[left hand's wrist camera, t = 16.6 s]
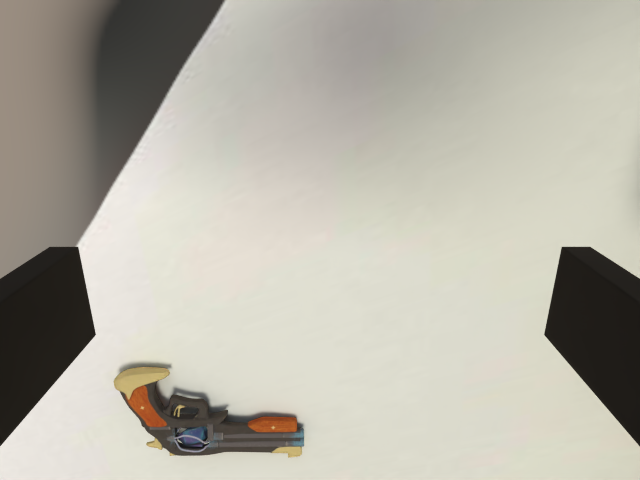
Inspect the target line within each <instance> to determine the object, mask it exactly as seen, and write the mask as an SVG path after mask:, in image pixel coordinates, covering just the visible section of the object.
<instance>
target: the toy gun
mask: <svg viewBox="0 0 640 480" xmlns="http://www.w3.org/2000/svg"><path fill="white" fill-rule="evenodd" d="M169 374H170V372H169V370H167V369H165V368H156V367H137V368H131V369H127V370H125V371H123V372H121V373H120V374H119V375H118V376H117V377H116V378H115V380H114V386H115V388H116V389H117V390H119V391H120V393H121V395H122V397H123V398H124V400H125V402H126V403H127V405H128V406H129V408H130V409H131V410H132V411H133V412H134V414H135V415H136V416H137V417H138V418H139V419H140V421H141V424H142V426H143V427H145V429H146V431H147V432H148V433H150V434H151V435H152V436H154V437H155V441H151V442H147V444H146V445H147V446H149V447H154V448H158V449H160V450H162V448H165V449H167V450H168V451H169V452H170V456H172V455H181V456H188V455H210V454H217V453H222V452H271V453H288V458H289V457H295V456H300V455H301V454H302V447H301V446H304V430H303V429H301V427H297V419H296V418H294V417H260V418H257V419H254V420H252V421H249V422H247V423H235V422H227V421H223V420H224V419H225V418H226V417H227V413H228V410H224V411H221V412H217V413H209V412H208V404H207V402H206V401H205V400H204V399H192V398H186V397H182V396H179V395H175V394H173V395H172V396H171V398H170V403H169V406H167V407H165V406H163V404H162V403H161V401H160V400H159V398H158V396H157V394H156V390H155V389H156V382H157V381H158V380H161V379H163V378H165V377H167V376H168V375H169ZM174 404H179V405H178V406H177V407H176V409H175V411H174V412H173V411H172V406H173V405H174ZM185 406H188V407H197V408H198V409H199V411H198V412H197V413H196V414H180V409H181V408H184V407H185ZM177 409H178V413H176V410H177ZM206 426H208V429H207V427H206ZM184 427H189V428H188V429H186V430H185V431H183V432H182V433H180V434H179V432H178V431H179V430H180V429H181V428H184ZM177 428H179V429H178V430H177ZM177 434H178V435H177ZM177 439H179V440H180V441H181V442H182V443H180V442H178V441H177ZM207 439H208V441H206V440H207ZM207 442H209V443H207ZM204 443H207V444H204Z"/></svg>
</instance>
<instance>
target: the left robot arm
mask: <svg viewBox="0 0 640 480" xmlns="http://www.w3.org/2000/svg"><path fill="white" fill-rule="evenodd" d="M95 335H96V334H95V329H94V324H93V319H92V314H91V309H90V304H89V299H88V294H87V289H86V284H85V279H84V274H83V269H82V264H81V259H80V254H79V249H78V247H49V248H48V249H46V250H44V251H43V252H41V253H40V254H38V255H37V256H35V257H34V258H32V259H30V260H29V261H27V262H26V263H24V264H23V265H21V266H20V267H18V268H16V269H15V270H13V271H12V272H10V273H9V274H7V275H6V276H4V277H2V278H1V279H0V446H1V445H2V444H3V442H4V441H5V440H6V439H7V438H8V437H9V435H10V434H11V433H12V432H13V431H14V430H15V428H16V427H17V426H18V425H19V424H20V423H21V421H22V420H23V419H24V418H25V417H26V416H27V414H28V413H29V412H30V411H31V410H32V409H33V407H34V406H35V405H36V404H37V403H38V402H39V400H40V399H41V398H42V397H43V396H44V395H45V393H46V392H47V391H48V390H49V389H50V388H51V386H52V385H53V384H54V383H55V382H56V381H57V379H58V378H59V377H60V376H61V375H62V374H63V372H64V371H65V370H66V369H67V368H68V367H69V365H70V364H71V363H72V362H73V361H74V360H75V358H76V357H77V356H78V355H79V354H80V353H81V351H82V350H83V349H84V348H85V347H86V346H87V344H88V343H89V342H90V341H91V340H92V339H93V337H94V336H95ZM544 335H545V336H546V337H547V339H548V340H549V341H550V342H551V343H552V344H553V346H554V347H555V348H556V349H557V350H558V351H559V353H560V354H561V355H562V356H563V357H564V358H565V360H566V361H567V362H568V363H569V364H570V365H571V367H572V368H573V369H574V370H575V371H576V372H577V374H578V375H579V376H580V377H581V378H582V379H583V381H584V382H585V383H586V384H587V385H588V386H589V388H590V389H591V390H592V391H593V392H594V393H595V395H596V396H597V397H598V398H599V399H600V400H601V402H602V403H603V404H604V405H605V406H606V407H607V409H608V410H609V411H610V412H611V413H612V414H613V416H614V417H615V418H616V419H617V420H618V421H619V423H620V424H621V425H622V426H623V427H624V428H625V430H626V431H627V432H628V433H629V434H630V435H631V437H632V438H633V439H634V440H635V441H636V442H637V444H638V445H639V446H640V279H639V278H638V277H636V276H634V275H633V274H631V273H630V272H628V271H627V270H625V269H624V268H622V267H620V266H619V265H617V264H616V263H614V262H613V261H611V260H610V259H608V258H606V257H605V256H603V255H602V254H600V253H599V252H597V251H596V250H594V249H593V248H591V247H562V249H561V254H560V259H559V264H558V269H557V274H556V279H555V284H554V289H553V294H552V299H551V304H550V309H549V314H548V319H547V324H546V329H545V334H544Z"/></svg>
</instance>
